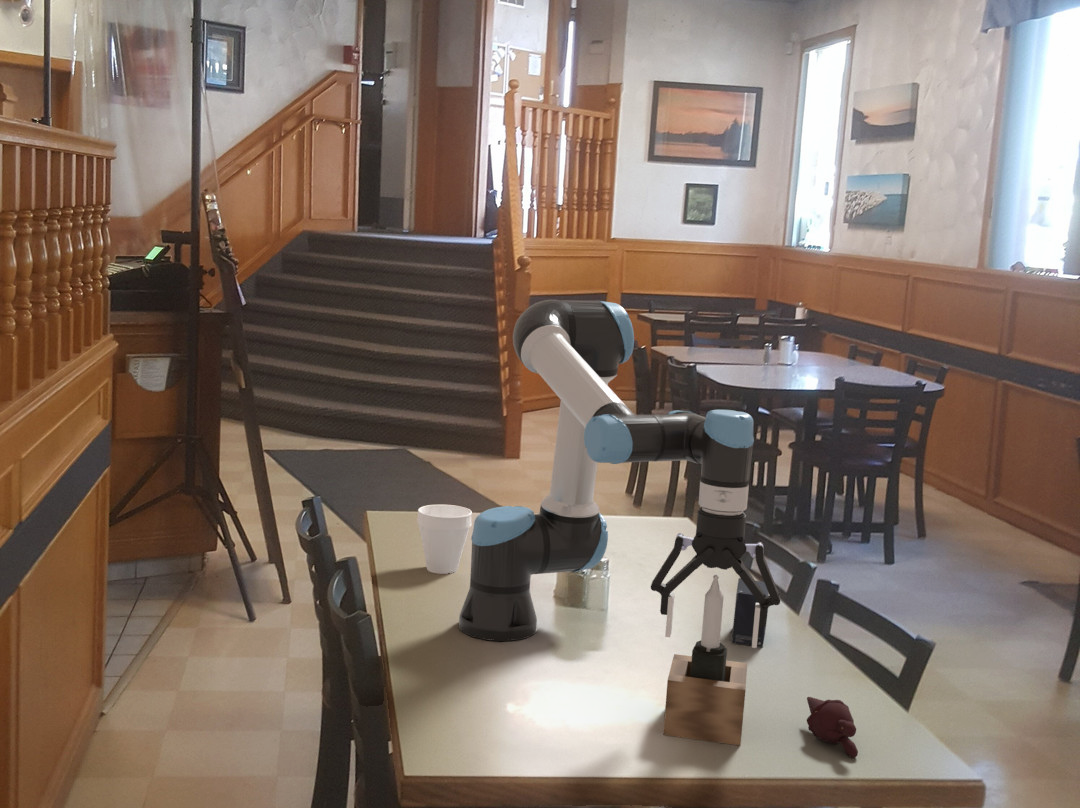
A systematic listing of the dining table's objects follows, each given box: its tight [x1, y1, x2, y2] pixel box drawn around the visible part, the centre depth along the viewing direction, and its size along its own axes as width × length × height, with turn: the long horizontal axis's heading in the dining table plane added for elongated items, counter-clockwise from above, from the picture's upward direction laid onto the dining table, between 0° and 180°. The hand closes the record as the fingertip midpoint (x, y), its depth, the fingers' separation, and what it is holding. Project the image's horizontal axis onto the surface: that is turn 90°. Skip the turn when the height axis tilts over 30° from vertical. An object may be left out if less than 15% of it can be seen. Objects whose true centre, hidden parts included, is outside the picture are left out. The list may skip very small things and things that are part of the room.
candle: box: [690, 574, 728, 681], centre depth 187 cm, size 5×5×25 cm
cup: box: [416, 504, 473, 575], centre depth 265 cm, size 12×12×14 cm
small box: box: [731, 577, 770, 648], centre depth 232 cm, size 11×6×10 cm, turn 168°
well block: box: [662, 653, 748, 746], centre depth 188 cm, size 12×12×9 cm
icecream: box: [806, 696, 859, 759], centre depth 186 cm, size 7×7×15 cm
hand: (711, 639), depth 187 cm, fingers open, 13 cm apart
